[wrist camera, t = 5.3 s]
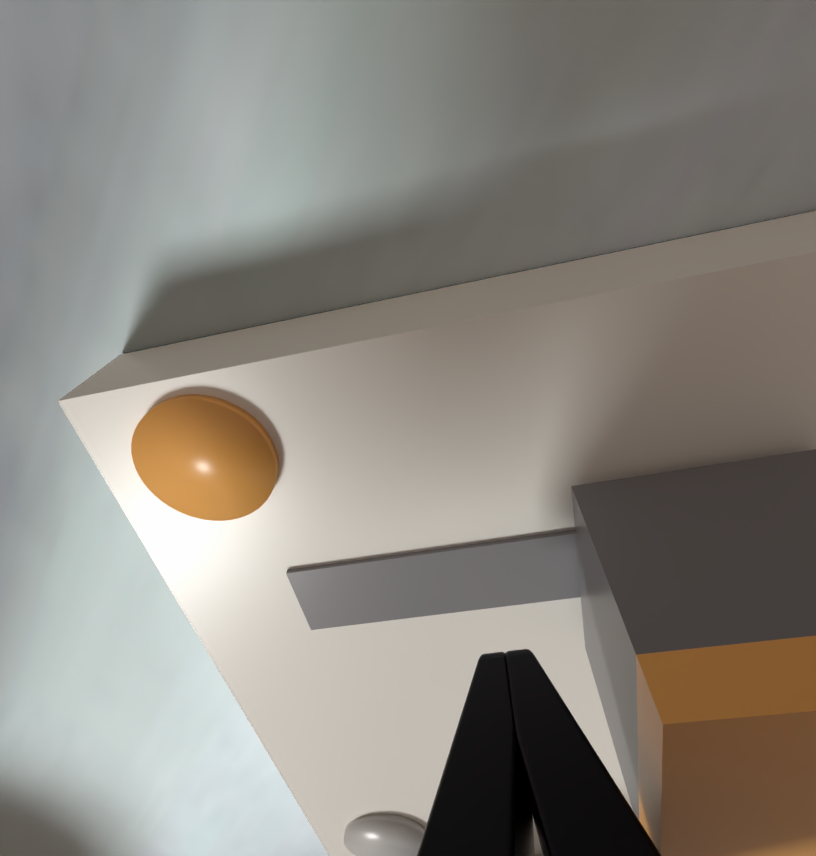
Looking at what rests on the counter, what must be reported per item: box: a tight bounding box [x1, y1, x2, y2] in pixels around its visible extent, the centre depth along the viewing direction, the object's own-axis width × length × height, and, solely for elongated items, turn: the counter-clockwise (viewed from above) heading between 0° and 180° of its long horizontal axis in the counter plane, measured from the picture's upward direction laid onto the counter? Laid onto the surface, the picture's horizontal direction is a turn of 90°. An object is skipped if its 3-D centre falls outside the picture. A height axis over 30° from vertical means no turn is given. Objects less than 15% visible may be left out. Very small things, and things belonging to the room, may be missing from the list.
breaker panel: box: [58, 211, 816, 856], centre depth 13 cm, size 21×15×2 cm
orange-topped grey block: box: [571, 449, 816, 856], centre depth 8 cm, size 4×4×4 cm
